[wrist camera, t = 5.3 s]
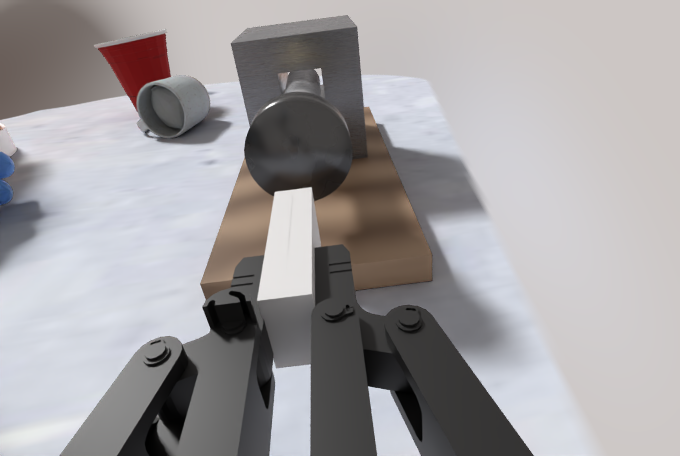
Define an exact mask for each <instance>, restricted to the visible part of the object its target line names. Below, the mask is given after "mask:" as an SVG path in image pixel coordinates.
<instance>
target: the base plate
mask: <svg viewBox="0 0 680 456" xmlns="http://www.w3.org/2000/svg"><path fill="white" fill-rule="evenodd" d="M364 117H365V129H366V141H367V153H368V157H367V158H360V159H352V164H351V168H350V170H349V173H348V175H347V177H346V178H345V180H344V181H343V183H342V184H341V185H340V186H339V187H338V188H337V189H336V190H335V191H334V192H332V193H331V194H329V195H328V196H326V197H324V198H322V199H319V200H316V201H314V204H315V210H316V217H317V223H318V229H319V235H320V241H321V247H324V246H332V245H339V244H343V245H344V246H345V247H346V248H347V250H348V251H349V252H350V259H351V266H352V273H353V281H354V288H355V290H362V289H370V288H378V287H386V286H394V285H402V284H410V283H418V282H426V281H432V253H431V251H430V248H429V246H428V244H427V241H426V239H425V237H424V234H423V232H422V230H421V227H420V225H419V223H418V220H417V218H416V216H415V213H414V211H413V209H412V206H411V204H410V202H409V199H408V197H407V195H406V192H405V190H404V188H403V185H402V183H401V181H400V178H399V176H398V174H397V171H396V169H395V167H394V164H393V162H392V160H391V157H390V155H389V153H388V150H387V148H386V146H385V143H384V141H383V139H382V136H381V134H380V132H379V129H378V127H377V125H376V122H375V120H374V118H373V115H372V113H371V111H370V108H369V107H364ZM273 200H274V196H272V195H270V194H268V193H267V192H266V191H264V190H263V189H262V188H261V187H260V186H259V185H258V184H257V183H256V182H255V180H254V179H253V177H252V176H251V174H250V172H249V170H248V167H247V164H246V160H245V158H244V161H243V164H242V167H241V169H240V172H239V175H238V178H237V181H236V184H235V187H234V189H233V192H232V195H231V198H230V201H229V204H228V207H227V209H226V212H225V215H224V218H223V221H222V224H221V226H220V229H219V232H218V235H217V238H216V241H215V244H214V246H213V249H212V252H211V255H210V258H209V261H208V263H207V266H206V269H205V272H204V275H203V278H202V281H201V283H200V285H201V287H202V290H203V293H204V296H205V298H206V300H207V299H208V298H210V297H211V296H212V295H213V294H215V293H217V292H219V291H221V290H225V289H229V288H230V287H231V282H232V279H233V274H234V270H235V267H236V266H237V265H238V263H239V262H240V261H241V260H242V259H243V258H244V257H252V256H260V255H265V249H266V243H267V237H268V231H269V225H270V218H271V212H272V206H273Z"/></svg>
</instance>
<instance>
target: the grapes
mask: <svg viewBox="0 0 680 456" xmlns="http://www.w3.org/2000/svg"><path fill="white" fill-rule="evenodd" d="M14 169H15V165H14V162H13V160H12V159H11V158H10V157H9V156H8V155H6V154H5V153H3V152H0V205H3V204H6V203H8V202H9V201H10V200H11V199H12V197H13V190H12V188H11V186H10V185H9V184H8V183H7V182H6V181H4V180H2V179H3V178H7V177H10V176H11V175H12V174H13V173H14Z"/></svg>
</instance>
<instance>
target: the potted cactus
mask: <svg viewBox="0 0 680 456" xmlns="http://www.w3.org/2000/svg"><path fill="white" fill-rule="evenodd" d="M16 150H17V148H16V146H15V144H14V142H13V140H12V138H11V137H10V135H9V133H8V131H7V129H6V127H5V126H4V125H3V124H0V152H3V153H5V154H6V155H8V156H9V157H10V156H12V155H13V154H14V153H15V152H16Z"/></svg>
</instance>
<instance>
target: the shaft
mask: <svg viewBox="0 0 680 456" xmlns="http://www.w3.org/2000/svg"><path fill="white" fill-rule="evenodd" d="M244 151H245V160H246V164H247V167H248V170H249V172H250V174H251V176H252V177H253V179H254V180H255V182H256V183H257V184H258V185H259V186H260V187H261V188H262V189H263V190H264V191H266V192H267V193H268V194H270V195H272V196H274V194H275V192H278V191H286V190H294V189H302V188H309V187H312V192H313V198H314V201H316V200H319V199H322V198H324V197H326V196H328V195H329V194H331V193H332V192H334V191H335V190H336V189H337V188H338V187H339V186H340V185H341V184H342V183H343V181H344V180H345V178H346V177H347V175H348V173H349V170H350V168H351V164H352V157H353V150H352V143H351V138H350V134H349V130H348V127H347V124H346V122H345V120H344V118H343V116H342V115H341V113H340V112H339V111H338V109H337V108H336V107H335V106H334V105H333V104H331V103H330V102H329V101H327V100H326V99H324V98H322V97H321V90H320V79H319V76H318V74H317V72H316V71H315V70H314V69H309V70H302V71H294V72H290V73H289V75H288V78H287V83H286V88H285V92H284V94H281V95H278V96H276V97H274V98H272V99H271V100H269V101H268V102H266V103H265V104H264V105H263V106H262V107H261V108H260V109H259V111H258V112H257V113H256V115H255V117H254V119H253V121H252V123H251V126H250V129H249V131H248V134H247V137H246V141H245V148H244Z"/></svg>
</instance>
